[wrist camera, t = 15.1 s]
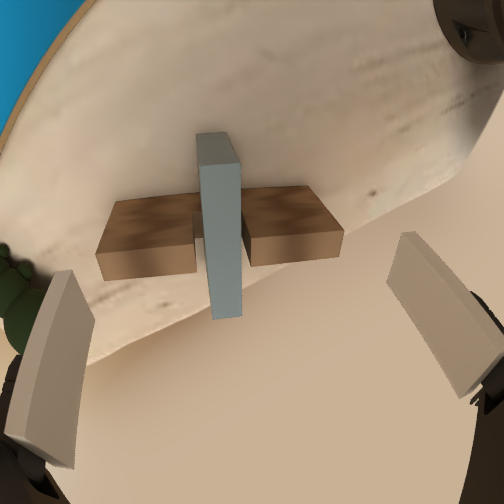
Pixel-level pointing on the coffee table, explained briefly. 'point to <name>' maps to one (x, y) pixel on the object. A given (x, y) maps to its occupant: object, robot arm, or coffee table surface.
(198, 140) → the slate plate
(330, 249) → the walnut board
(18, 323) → the toy figurine
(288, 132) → the coffee table surface
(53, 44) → the book
